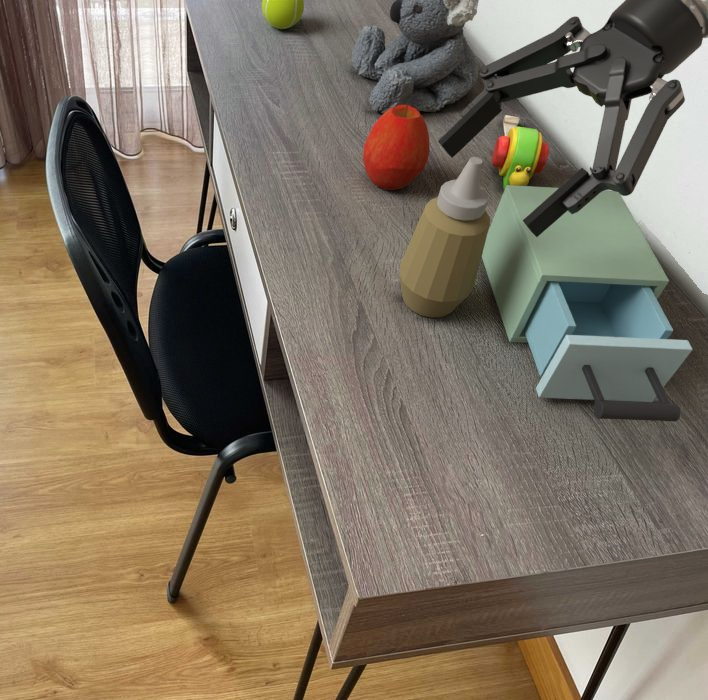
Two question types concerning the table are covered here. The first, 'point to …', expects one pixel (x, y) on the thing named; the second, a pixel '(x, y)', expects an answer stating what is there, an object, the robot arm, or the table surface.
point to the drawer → (605, 349)
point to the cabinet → (563, 252)
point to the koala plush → (419, 56)
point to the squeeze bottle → (447, 246)
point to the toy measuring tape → (519, 153)
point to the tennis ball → (282, 12)
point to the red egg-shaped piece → (396, 148)
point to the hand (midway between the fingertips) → (484, 187)
